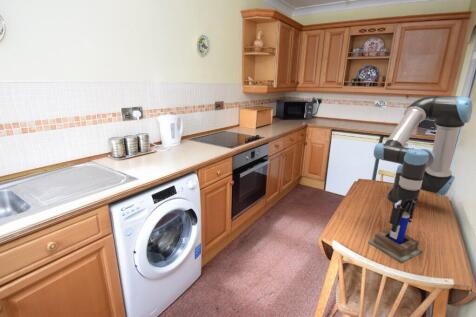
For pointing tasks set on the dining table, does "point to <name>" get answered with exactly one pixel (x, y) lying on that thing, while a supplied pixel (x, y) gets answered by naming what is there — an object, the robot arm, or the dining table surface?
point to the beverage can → (402, 229)
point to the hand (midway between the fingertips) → (397, 235)
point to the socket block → (396, 246)
